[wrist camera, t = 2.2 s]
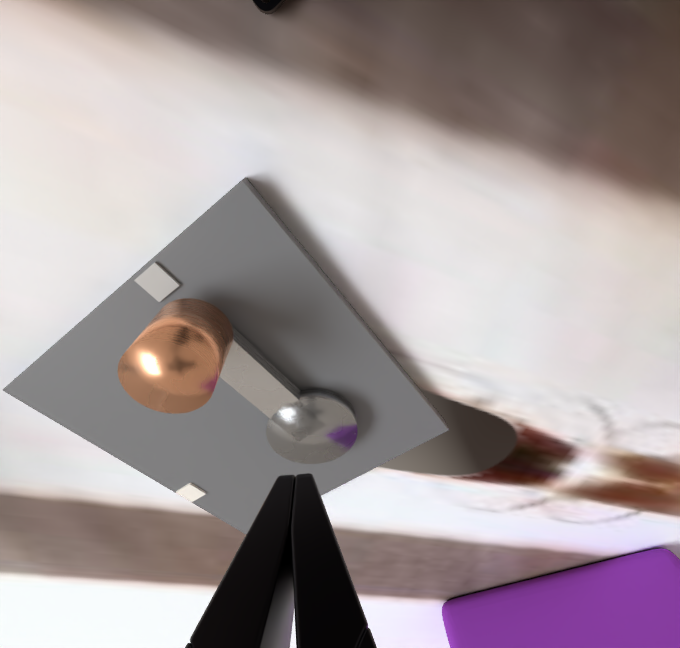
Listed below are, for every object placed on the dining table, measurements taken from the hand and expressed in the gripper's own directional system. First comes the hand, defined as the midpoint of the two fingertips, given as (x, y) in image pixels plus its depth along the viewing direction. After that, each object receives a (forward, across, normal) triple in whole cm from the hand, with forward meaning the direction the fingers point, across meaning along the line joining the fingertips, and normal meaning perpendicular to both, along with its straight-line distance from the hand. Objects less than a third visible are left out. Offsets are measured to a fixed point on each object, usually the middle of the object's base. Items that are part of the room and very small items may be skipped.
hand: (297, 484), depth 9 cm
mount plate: (+13, +5, +9) cm, 16 cm away
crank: (+12, +3, +6) cm, 14 cm away
